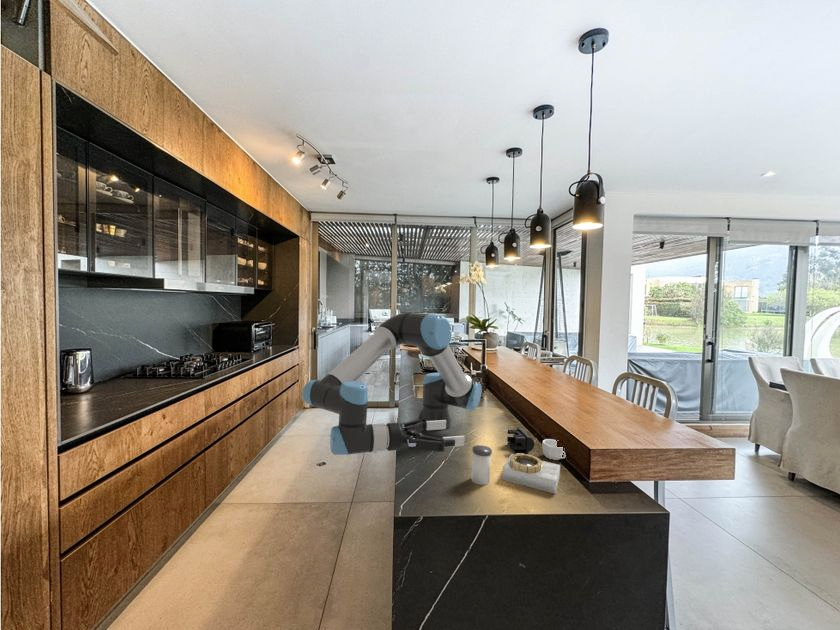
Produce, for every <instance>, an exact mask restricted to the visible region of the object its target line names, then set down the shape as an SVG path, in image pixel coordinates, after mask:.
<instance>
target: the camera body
mask: <svg viewBox="0 0 840 630" xmlns="http://www.w3.org/2000/svg"><path fill="white" fill-rule="evenodd" d="M560 474H561V464H558V463H554V462H550V461H549V462H548V461H545V460H541V459H540V458H539V457H537V456H534V455H532V454H528V453H527V454H515V453H510V455H509V457H508V458H507V460H506V462H505V464H504V466H503V467H502V478H501V479H502V481H506V482H509V483H513V484H515V485H516V484H517V485H520V484H521V486H524V485H525V487H528V488H533V489H535V490H540V491H544V492H546V493H551V494H556V493H557V489H558V486H559V480H560V477H561V476H560Z"/></svg>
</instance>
